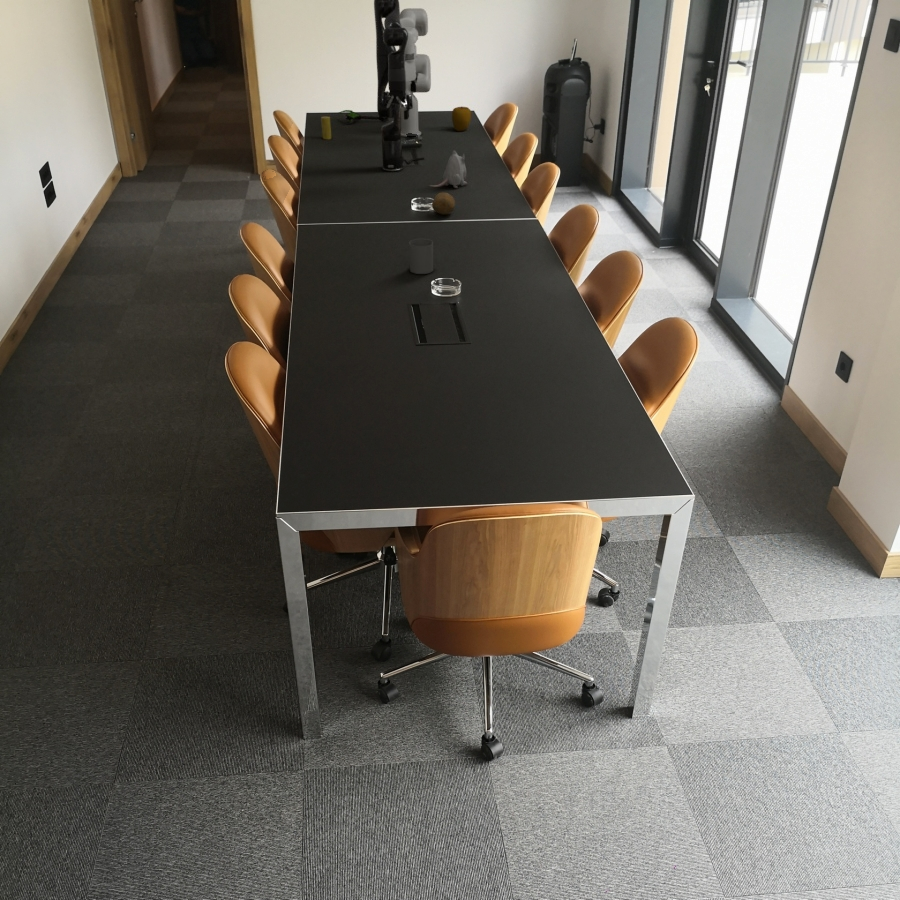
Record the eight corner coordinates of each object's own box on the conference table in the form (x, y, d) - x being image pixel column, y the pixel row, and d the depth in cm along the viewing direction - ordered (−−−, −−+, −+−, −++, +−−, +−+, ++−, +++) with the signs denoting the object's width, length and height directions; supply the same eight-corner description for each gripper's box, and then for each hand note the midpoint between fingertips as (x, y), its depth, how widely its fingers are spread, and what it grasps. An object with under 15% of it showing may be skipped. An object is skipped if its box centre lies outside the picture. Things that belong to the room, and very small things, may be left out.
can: (320, 138, 474) (319, 117, 468) (326, 136, 478) (324, 115, 472) (327, 139, 472) (326, 118, 466) (333, 138, 476) (331, 116, 470)
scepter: (388, 107, 510) (337, 105, 507) (388, 120, 503) (336, 118, 500) (388, 116, 515) (337, 114, 512) (388, 129, 507) (337, 127, 505)
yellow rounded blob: (471, 132, 486) (471, 108, 479) (451, 132, 486) (451, 108, 479) (470, 128, 495) (471, 104, 488) (452, 128, 495) (452, 104, 488)
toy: (472, 184, 399) (472, 151, 391) (436, 195, 384) (436, 161, 376) (457, 180, 404) (458, 147, 396) (422, 191, 389) (421, 157, 381)
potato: (453, 208, 369) (453, 189, 365) (456, 218, 357) (456, 199, 353) (431, 208, 368) (430, 189, 364) (432, 218, 356) (432, 199, 352)
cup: (409, 265, 311) (408, 238, 306) (432, 265, 312) (431, 238, 307) (410, 274, 304) (409, 246, 299) (433, 273, 305) (433, 246, 299)
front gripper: (415, 79, 373) (416, 118, 382) (388, 75, 379) (390, 114, 388) (405, 81, 368) (406, 121, 376) (378, 78, 374) (380, 117, 383)
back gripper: (411, 54, 442) (412, 89, 451) (390, 58, 430) (391, 95, 439) (423, 55, 438) (423, 91, 448) (402, 60, 426) (403, 97, 436)
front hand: (398, 118), depth 382 cm, fingers open, 8 cm apart
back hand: (407, 93), depth 444 cm, fingers open, 9 cm apart
